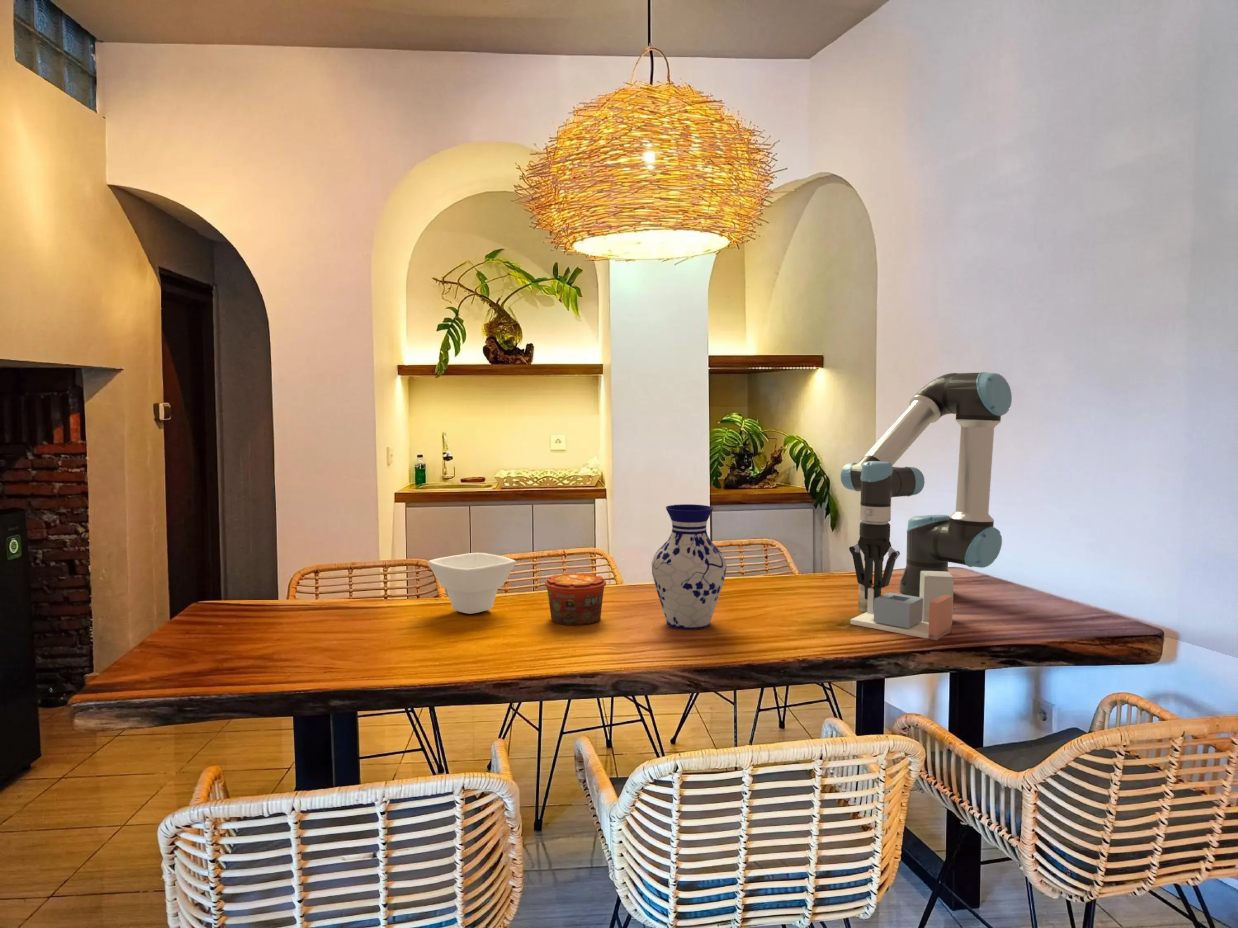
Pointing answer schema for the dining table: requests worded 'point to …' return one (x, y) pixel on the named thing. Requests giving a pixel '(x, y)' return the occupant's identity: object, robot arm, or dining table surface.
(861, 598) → the dowel
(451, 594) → the bowl
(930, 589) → the supplement box
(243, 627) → the dining table surface
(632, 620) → the dining table surface
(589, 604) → the food container
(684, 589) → the vase
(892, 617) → the socket block
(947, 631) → the peg insertion fixture
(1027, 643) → the dining table surface
